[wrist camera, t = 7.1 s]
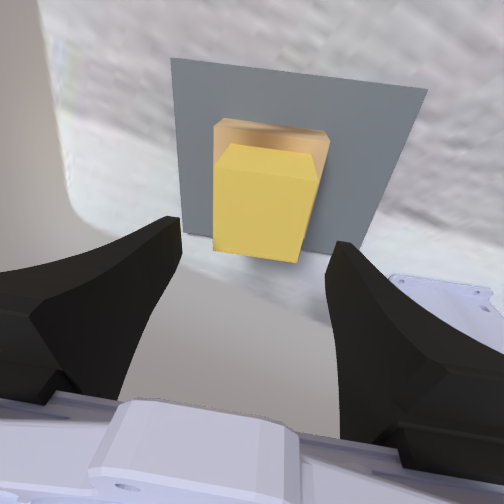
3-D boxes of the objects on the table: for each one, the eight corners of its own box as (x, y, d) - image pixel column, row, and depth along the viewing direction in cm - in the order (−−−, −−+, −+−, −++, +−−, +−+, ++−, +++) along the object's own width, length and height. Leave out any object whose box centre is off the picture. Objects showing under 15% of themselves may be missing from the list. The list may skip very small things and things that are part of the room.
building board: (423, 88, 16) (428, 89, 16) (354, 253, 24) (355, 257, 23) (173, 58, 17) (170, 57, 16) (185, 229, 24) (183, 232, 24)
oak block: (324, 131, 18) (330, 141, 15) (302, 220, 22) (304, 239, 19) (223, 117, 18) (213, 126, 15) (221, 208, 22) (212, 226, 20)
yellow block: (311, 154, 16) (318, 181, 12) (295, 224, 19) (296, 263, 15) (230, 143, 16) (213, 166, 12) (227, 215, 19) (212, 250, 15)
